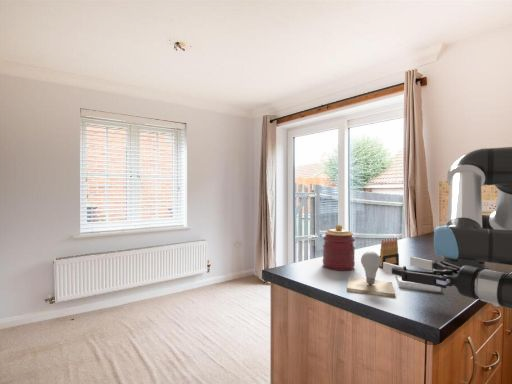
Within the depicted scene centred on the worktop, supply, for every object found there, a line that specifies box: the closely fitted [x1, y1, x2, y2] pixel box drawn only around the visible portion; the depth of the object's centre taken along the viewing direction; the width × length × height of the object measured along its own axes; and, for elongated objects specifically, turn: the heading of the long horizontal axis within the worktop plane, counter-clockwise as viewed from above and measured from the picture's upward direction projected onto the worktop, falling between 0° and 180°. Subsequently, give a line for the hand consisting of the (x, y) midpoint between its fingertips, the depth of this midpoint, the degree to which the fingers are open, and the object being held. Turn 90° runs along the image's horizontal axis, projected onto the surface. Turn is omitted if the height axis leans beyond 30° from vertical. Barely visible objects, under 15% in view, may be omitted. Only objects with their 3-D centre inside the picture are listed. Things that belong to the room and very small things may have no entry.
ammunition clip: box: [379, 237, 400, 269], centre depth 123 cm, size 11×2×12 cm, turn 120°
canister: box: [322, 224, 356, 271], centre depth 121 cm, size 13×13×18 cm
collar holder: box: [394, 275, 442, 293], centre depth 100 cm, size 12×12×2 cm
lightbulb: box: [360, 251, 381, 285], centre depth 96 cm, size 6×6×11 cm
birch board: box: [346, 276, 396, 298], centre depth 96 cm, size 14×12×1 cm
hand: (397, 263), depth 87 cm, fingers open, 13 cm apart
